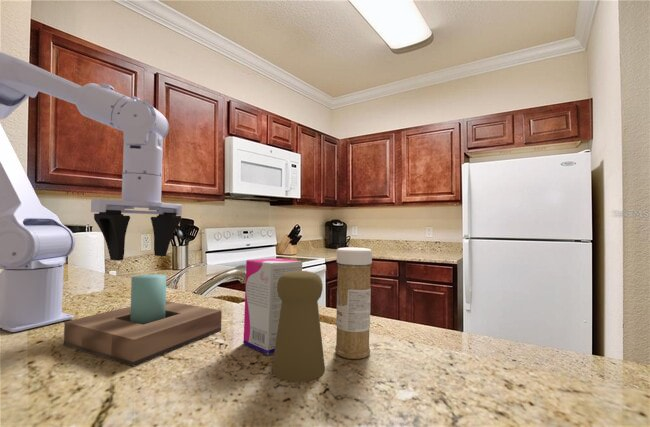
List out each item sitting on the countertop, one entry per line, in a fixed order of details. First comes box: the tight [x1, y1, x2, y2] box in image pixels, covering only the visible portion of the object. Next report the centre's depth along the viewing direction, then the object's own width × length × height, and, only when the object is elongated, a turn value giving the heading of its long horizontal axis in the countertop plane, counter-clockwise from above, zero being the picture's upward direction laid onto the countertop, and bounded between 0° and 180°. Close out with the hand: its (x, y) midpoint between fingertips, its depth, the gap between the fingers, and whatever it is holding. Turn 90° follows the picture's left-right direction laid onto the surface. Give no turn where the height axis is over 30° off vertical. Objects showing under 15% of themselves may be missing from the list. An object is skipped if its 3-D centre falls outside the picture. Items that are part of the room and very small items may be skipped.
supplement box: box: [242, 257, 303, 356], centre depth 44 cm, size 6×6×12 cm
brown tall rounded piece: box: [271, 270, 326, 383], centre depth 37 cm, size 6×6×11 cm
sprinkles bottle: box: [334, 246, 373, 360], centre depth 41 cm, size 5×5×13 cm
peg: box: [130, 273, 167, 325], centre depth 46 cm, size 4×4×8 cm
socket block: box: [63, 300, 223, 367], centre depth 46 cm, size 14×14×3 cm
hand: (139, 257), depth 53 cm, fingers open, 7 cm apart
